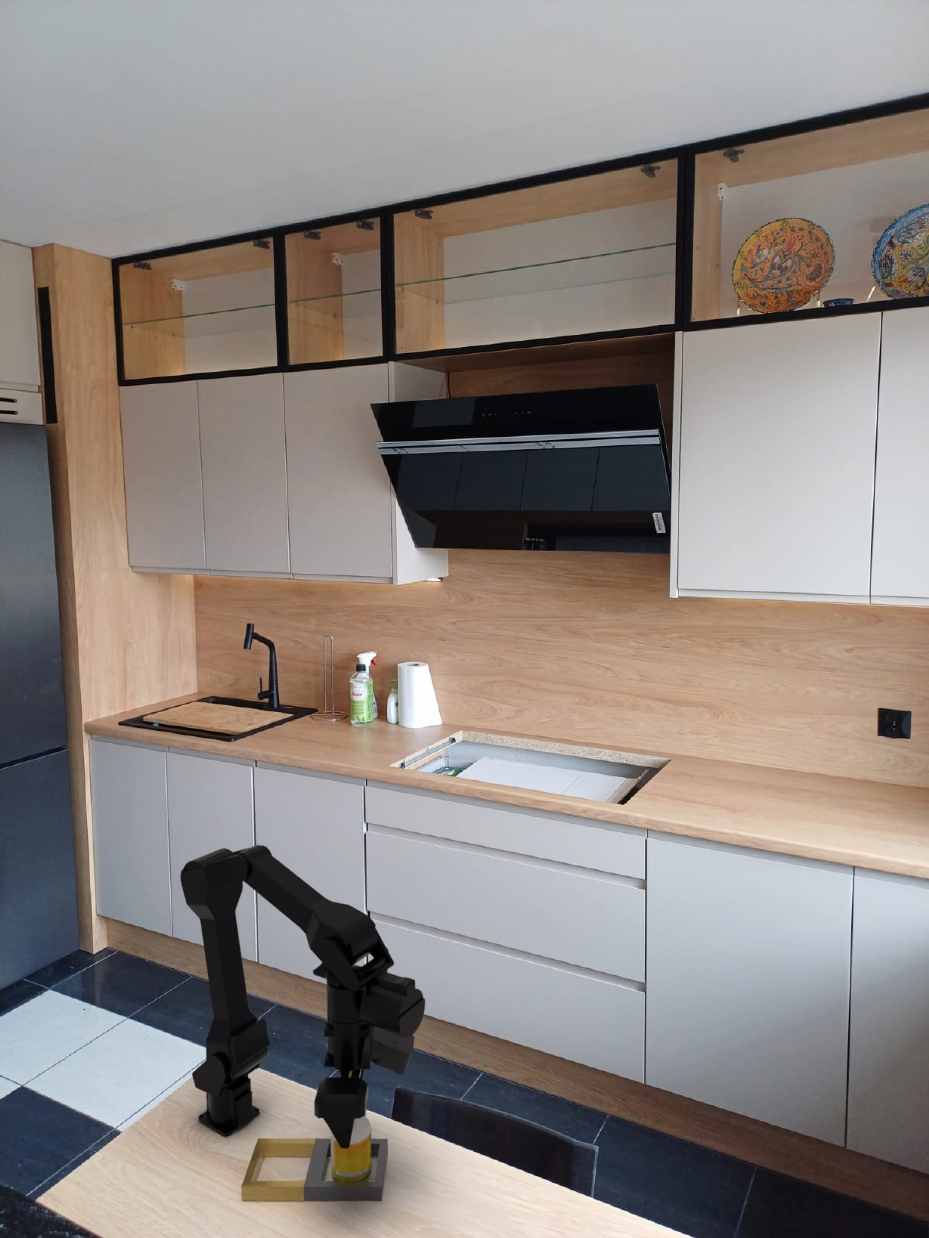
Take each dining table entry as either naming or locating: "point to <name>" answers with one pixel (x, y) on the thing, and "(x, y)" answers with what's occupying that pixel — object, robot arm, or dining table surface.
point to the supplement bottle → (353, 1154)
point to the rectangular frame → (310, 1173)
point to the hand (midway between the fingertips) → (349, 1123)
